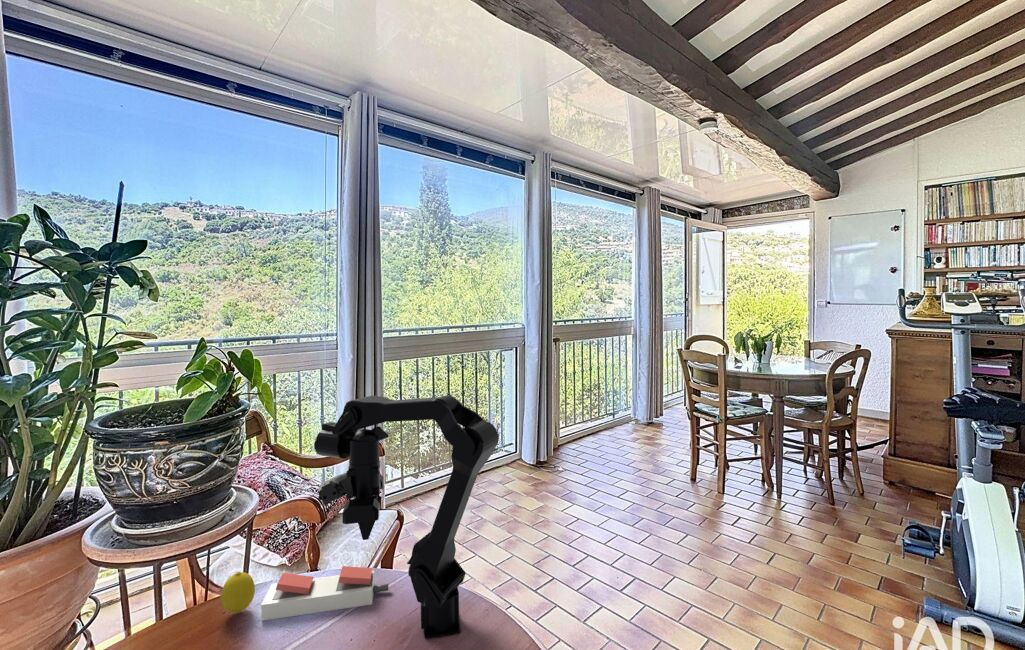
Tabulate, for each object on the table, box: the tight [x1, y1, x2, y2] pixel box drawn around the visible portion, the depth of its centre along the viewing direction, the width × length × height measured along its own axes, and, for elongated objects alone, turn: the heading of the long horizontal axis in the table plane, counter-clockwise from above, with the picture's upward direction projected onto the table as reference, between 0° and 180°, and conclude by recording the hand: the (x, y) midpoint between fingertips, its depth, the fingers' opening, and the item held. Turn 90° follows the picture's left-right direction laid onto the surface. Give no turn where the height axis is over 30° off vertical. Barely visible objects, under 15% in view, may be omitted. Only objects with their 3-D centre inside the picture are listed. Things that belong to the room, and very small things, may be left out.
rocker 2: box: [339, 565, 373, 585], centre depth 93 cm, size 6×4×1 cm, turn 103°
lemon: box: [220, 571, 256, 615], centre depth 88 cm, size 6×6×8 cm
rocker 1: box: [276, 572, 314, 594], centre depth 90 cm, size 6×4×1 cm, turn 103°
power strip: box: [260, 570, 389, 622], centre depth 92 cm, size 23×7×3 cm, turn 103°
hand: (365, 538), depth 90 cm, fingers closed
